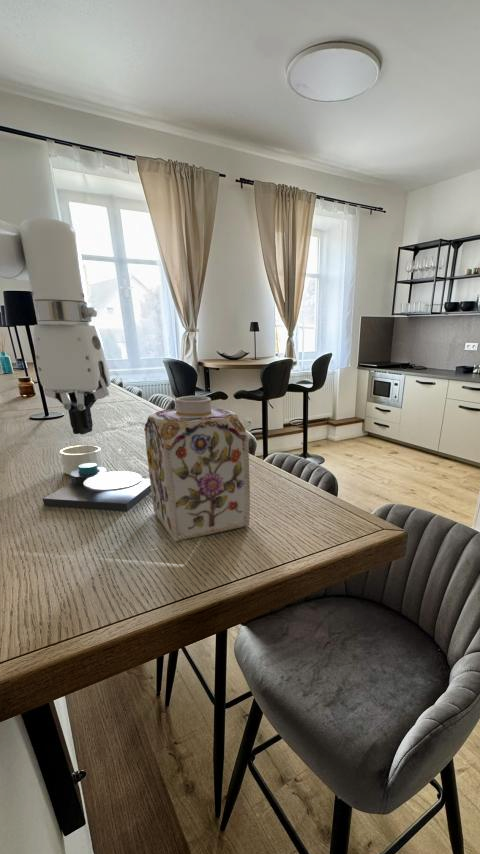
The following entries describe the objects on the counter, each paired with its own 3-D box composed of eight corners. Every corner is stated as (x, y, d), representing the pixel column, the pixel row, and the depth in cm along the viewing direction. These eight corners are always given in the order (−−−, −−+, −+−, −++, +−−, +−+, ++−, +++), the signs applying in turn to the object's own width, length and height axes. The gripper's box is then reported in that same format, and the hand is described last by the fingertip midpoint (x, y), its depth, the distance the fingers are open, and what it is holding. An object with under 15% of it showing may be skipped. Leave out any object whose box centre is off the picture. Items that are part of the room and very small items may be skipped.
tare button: (76, 475, 72) (74, 467, 71) (85, 470, 75) (84, 462, 74) (92, 476, 72) (91, 468, 71) (101, 471, 74) (100, 463, 74)
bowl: (56, 476, 80) (51, 453, 78) (77, 465, 86) (73, 444, 85) (91, 478, 79) (87, 455, 77) (109, 467, 86) (106, 446, 84)
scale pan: (72, 489, 64) (71, 487, 64) (102, 472, 73) (101, 470, 73) (126, 493, 63) (126, 490, 63) (150, 475, 72) (150, 473, 72)
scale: (41, 506, 66) (37, 488, 65) (85, 481, 77) (82, 466, 76) (127, 512, 64) (125, 494, 63) (158, 485, 76) (157, 470, 74)
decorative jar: (222, 500, 69) (218, 390, 63) (252, 526, 60) (251, 401, 53) (150, 513, 64) (137, 394, 57) (171, 544, 54) (158, 407, 48)
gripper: (120, 316, 66) (134, 429, 73) (35, 316, 68) (56, 426, 75) (95, 314, 59) (113, 439, 66) (1, 313, 61) (27, 435, 68)
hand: (83, 432), depth 70 cm, fingers closed
